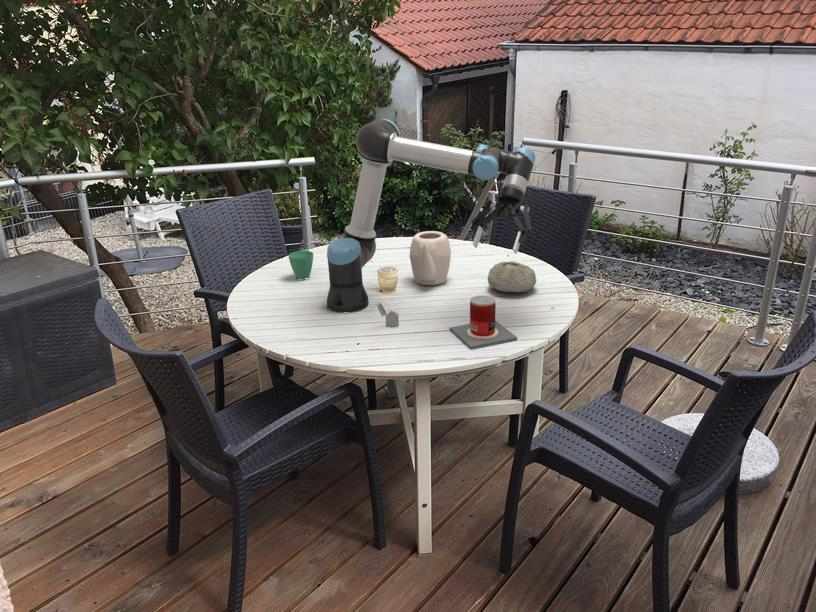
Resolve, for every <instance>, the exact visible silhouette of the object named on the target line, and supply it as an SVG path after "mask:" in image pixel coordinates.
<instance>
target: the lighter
mask: <svg viewBox="0 0 816 612" xmlns="http://www.w3.org/2000/svg"><path fill="white" fill-rule="evenodd" d="M375 306H376V308H377V310H378V312H379V314H380V317H384V316H385V317H384V318H385V327H386V328H394V327H398V326H400V319H399V316H400V315H399V313H397V312H396V311H395V310H389V311H388V313H387V311H386V310H385V307H384V306H383V303H382V302H379V303H377V304H376V305H375ZM398 328H399V327H398Z"/></svg>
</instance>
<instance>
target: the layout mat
mask: <svg viewBox="0 0 816 612" xmlns="http://www.w3.org/2000/svg"><path fill="white" fill-rule="evenodd" d="M449 332H451V333H452V334H453V335H454V336H455V337H456V338H457V339H458V340H460V341H461V342H462V344H464V345H465V346H466V347H468V348H469V350H474V349H475V348H476V349H480V348H485V347H490V346H494V344H495V345H499V343H500V344H504V342H505V343H511V342H513V341H514V342H515V341H517V340H518V337H517V336H516V335H515V334H514V333H512V332H511V331H510V330H509V329H507V328H506V327H505V326H504V325H502V324H501V323H499V322H498V321H497V320H495V332H494V333H493V334H492V335H490V336H477V335H474V334H472V333H471V330H470V323H465V324H461V325H456V326H450V327H449ZM489 345H490V346H489ZM484 346H485V347H484ZM479 347H480V348H479Z"/></svg>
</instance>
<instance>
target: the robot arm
mask: <svg viewBox="0 0 816 612" xmlns="http://www.w3.org/2000/svg"><path fill="white" fill-rule="evenodd" d="M355 145H356V149H357V150H358V153H359V157H360V159H361V161H362V164H361V170H360V175H359V179H358V183H357V188H356V194H355V199H354V204H353V207H352V208H353V209H352V213H351V219H350V223H349V224H348V225H346V226H345V228H344V232H343V237H341V238H339V239H335V240H333V241H331V242H329V244H328V245H327V249H326V259H327V265H328V266H327V267H328V279H329V289H328V293H327V297H326V301H325V302H326V309H328V310H329V309H330V310H329V311H331V310H332V311H331V312H333V311H336V312H335V313H339V312H350V313H356V312H359V310H360V311H363V310H364V308H365V309H367V308H368V306H369V304H370V301H369V296H368V293H367V292H366V288H365V286H364V283H363V267H365V265H366V264H367V263H369V262H370V261H371V260H372V258H373V257H374V255H375V253H376V251H377V250H376V249H377V242H376V238H377V233H376V231H375V230H374V227H375V224H376V223H375V222H376V219H377V218H376V217H377V213H378V210H379V209H378V208H379V206H380V200H381V195H382V190H383V187H384V186H383V185H384V181H385V177H386V172H387V167H389V166H390V165H392V164H393V161H397V162H402V163H408V164H413V165H418V166H422V167H423V166H424V167H429V168H433V169H434V168H435V169H438V170H445V171H449V172H450V171H451V172H454V173H459V174H465V175H470V176H475V177H476V178H477V179H479V180H481V181H487V180H490V179H492V178H494V177H495V176H496V175H497V173H498V174H499V173H500V174H504V175H506V176H505V179H504V181H503V185H502V189H501V190H500V194H499V196H498V200H497V202H493V201H492V200H488V201H487V203H486V204H485V205H486V206H484V208H483V209H481V211H480V212H478V214H477V215H476V216H475V217H474V218H473V219H472V220H471V224H472V226H473V228H474V231H473V233H472V234H473V236H474V239H473V242H472V245H473V247H474V248H476V249H477V248H478V247H479V243H480V240H481V237H482V235H483V232H484V229H483V228H484V227H486V226H488V225H489V224H490V223H491V222H493V221H494V220H496V219H499V218H500V217H501V218H507V219H511V218H513V219H514V221H515V223H516V224H517V227H518V229H519V230H520V231H518V232H517V235H516V238H515V240H514V241H515V242H514V245H513V247H512V251H513V253H514V254H516V255H517V254H518V251H519V250H520V245H521V244H522V245H523V243H524V242H525V238H526V236H527V235H533V228H532V224H531V219H530V207H529V205H528V204H524V205H522V203H523V199H524V197H525V193H526V190H527V187H528V183H529V181H530V178H531V175H532V172H533V169H534V166H535V161H536V153H535V152H534V151H533V149H531V148H529V147H526V146H523V147H521V146H519V147H517V148H515V149H514V151H509V150H505V149H501V148H498V147H494V146H491V145H489V144H488V145H487V144H483V143H482V144H478V145H477V148H476V150H471V149H466V148H461V147H455V146H451V145H450V146H449V145H444V144H439V143H435V142H434V143H433V142H429V141H425V140H424V141H423V140H418V139H413V138H409V137H408V138H407V137H403V136H401V132H400V130H399V127H398V126H397V125H396V124H395V123H394V122H393V121H392V120H389V119H388V118H387V119H386V118H378V119H374V120H372V121H371V122H368V123H367V124H364V125H363V126H361V127H360V128H359V130H358V131H357V133H356V135H355ZM494 208H495V209H494ZM491 211H492V212H491ZM520 211H521V212H522V213H523V215H524V216H523V217H524V221H525V225H526V228H525V227H524V225H523V223H522V222H521V220H520V218H519V216H518V213H520ZM362 309H363V310H362ZM355 311H356V312H355Z"/></svg>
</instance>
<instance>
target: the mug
mask: <svg viewBox="0 0 816 612" xmlns="http://www.w3.org/2000/svg"><path fill="white" fill-rule="evenodd" d="M288 260H289V263H290V266H291V270H292V271H293V274H294V275H295V277H296V279H297V278H299V279H305V278H309V279H310V275H311V272H312V269H313V268H312V267H313V262H314V253H313V252H312V251H310V250H309V249H307V248H306V249H303V250H298V251H293V252H290V253H289V254H288Z"/></svg>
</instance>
